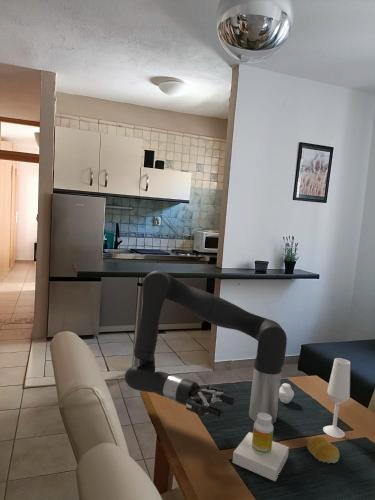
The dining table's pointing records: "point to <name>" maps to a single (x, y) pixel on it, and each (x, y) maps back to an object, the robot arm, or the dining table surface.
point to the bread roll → (323, 450)
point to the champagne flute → (338, 392)
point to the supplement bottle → (262, 434)
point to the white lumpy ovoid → (285, 393)
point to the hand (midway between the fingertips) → (227, 407)
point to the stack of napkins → (261, 458)
